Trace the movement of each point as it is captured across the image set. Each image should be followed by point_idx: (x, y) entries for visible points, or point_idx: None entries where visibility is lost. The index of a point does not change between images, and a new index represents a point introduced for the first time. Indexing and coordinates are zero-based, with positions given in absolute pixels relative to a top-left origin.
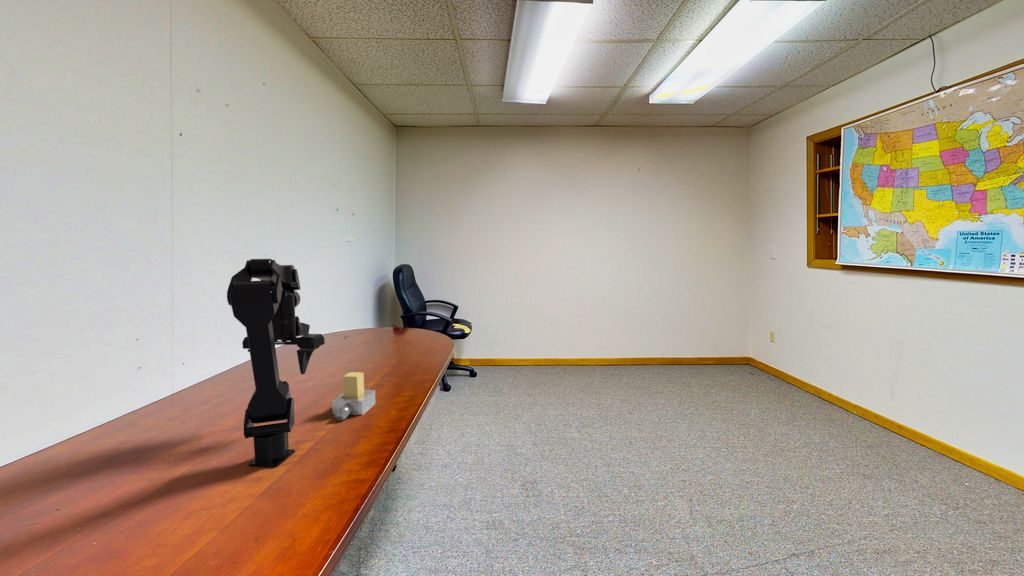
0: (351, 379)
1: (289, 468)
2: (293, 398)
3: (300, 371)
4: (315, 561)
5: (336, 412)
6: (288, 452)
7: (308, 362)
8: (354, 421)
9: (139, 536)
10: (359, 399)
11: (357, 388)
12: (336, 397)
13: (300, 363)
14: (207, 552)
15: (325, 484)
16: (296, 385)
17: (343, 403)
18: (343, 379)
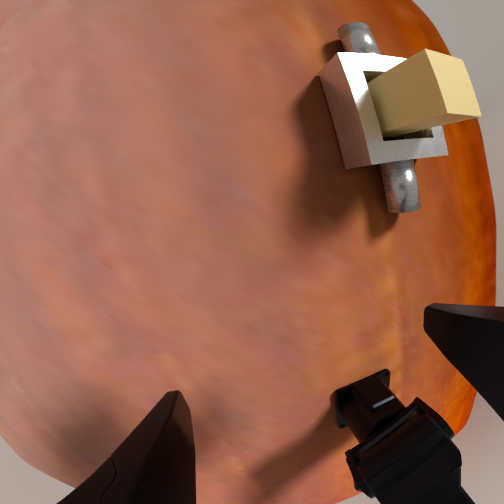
0: (460, 116)
1: (403, 395)
2: (449, 426)
3: (438, 347)
4: (463, 426)
5: (401, 212)
6: (383, 381)
7: (498, 308)
8: (420, 197)
9: (329, 494)
10: (438, 145)
11: (447, 123)
12: (366, 133)
13: (484, 384)
14: None
15: (453, 386)
16: (29, 30)
17: (399, 161)
18: (438, 115)
